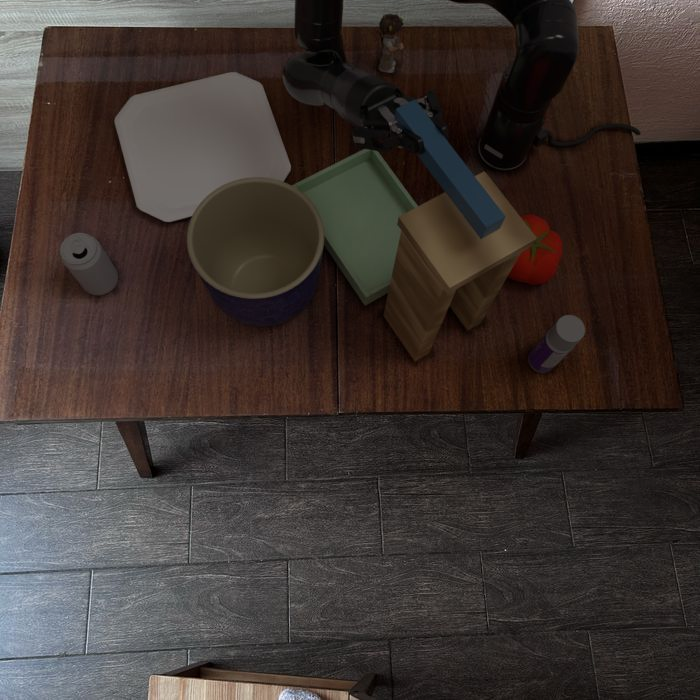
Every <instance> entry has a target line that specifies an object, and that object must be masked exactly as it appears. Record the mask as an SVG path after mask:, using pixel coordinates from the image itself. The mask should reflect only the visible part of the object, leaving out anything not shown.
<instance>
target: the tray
mask: <svg viewBox="0 0 700 700" xmlns="http://www.w3.org/2000/svg"><path fill="white" fill-rule="evenodd" d="M292 186H294V187H295V188H297V189H298V190H300V191H301V192H302V193H304V194H305V195H306V196H307V197H308V198H309V199H310V200H311V202H312V203H313V204H314V206H315V207H316V209H317V210H318V212H319V214H320V217H321V220H322V223H323V227H324V247H325V249H326V250H327V252H328V253H329V255H330V256H331V258H332V259H333V261H334V262H335V264H336V265H337V267H338V268H339V270H340V271H341V272H342V274H343V275H344V277H345V279H346V280H347V282H348V283H349V284H350V286H351V287H352V289H353V291H354V292H355V293H356V295H357V297H358V298H359V300H360V301H361V303H362V304H363V305H364V306H367V305H369V304H371V303H372V302H374V301H376V300H378V299H380V298H381V297H383V296H385V295H386V294H387V295H388V291H389V286H390V282H391V277H392V272H393V267H394V262H395V258H396V253H397V248H398V243H399V238H400V234H401V229H400V228H399V226H398V225H397V223H398V217H399V216H401V215H403V214H405V213H407V212H409V211H411V210H412V209H414V208H416V207H418V206H419V205H418V204H417V203H416V201H415V200H414V199H413V197H412V196H411V194H410V193H409V192H408V190H407V189H406V188H405V186H404V185H403V184H402V182H401V181H400V179H399V178H398V176H397V175H396V174H395V172H394V171H393V170H392V168H391V167H390V166H389V164H388V163H387V162H386V160H385V159H384V158H383V156H382V155H381V153H380V151H374V150H368V149H361V150H359V151H357V152H356V153H353V154H351V155H350V156H347V157H345V158H344V159H341V160H339V161H338V162H336V163H333V164H332V165H330V166H328V167H326V168H324V169H321V170H320V171H318V172H315V173H313V174H312V175H309V176H308V177H305V178H303V179H302V180H300V181H298V182H295V183H293V184H292Z"/></svg>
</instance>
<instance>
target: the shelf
mask: <svg viewBox="0 0 700 700" xmlns="http://www.w3.org/2000/svg"><path fill="white" fill-rule="evenodd" d="M474 176H475V177H476V179H477V180H478V181H479V183H480V184H481V185H482V186H483V188H484V189H485V190H486V192H487V193H488V194H489V195H490V197H491V198H492V199H493V201H494V202H495V203H496V205H497V206H498V207H499V208H500V210H501V211H502V212H503V214H504V215H505V216H506V217H505V219H504V221H503V223H502V225H501V227H500V229H498V230H497V231H495V232H493V233H491V234H489V235H488V236H486V237H484V238H482V239H480V237H479V236H478V235H477V234H476V232H475V231H474V230H473V228H472V227H471V226H470V224H469V223H468V222H467V220H466V219H465V218H464V216H463V215H462V214H461V212H460V211H459V210H458V208H457V207H456V206H455V204H454V203H453V202H452V200H451V199H450V198H449V196H448V195H447V194H446V192H445V191H443V193H441V194H439V195H437V196H435V197H433V198H431V199H429V200H427V201H426V202H423V203H422V204H420V205H417V206H418V207H416V208H414V209H412V210H411V211H409V212H407V213H405V214H403V215H401V216H399V217H398V223H397V225H398V226H399V228H400V229H401V234H400V238H399V243H398V248H397V253H396V258H395V262H394V267H393V272H392V277H391V282H390V286H389V291H388V293H387V296H386V301H385V306H384V310H383V317H384V319H385V321H387V323H388V325H389V326H390V328H391V330H393V332H394V334H395V335H396V337H397V338H398V339H399V341H400V342H401V344H402V345H403V347H404V348H405V350H406V351H407V352H408V353H407V354H409V356H410V357H411V359H412V360H413V362H417V361H419V360H420V359H422V358H424V357H425V356H427V355H429V354H430V352H431V350H432V347H433V345H434V342H435V340H436V338H437V335H438V333H439V331H440V329H441V326H442V325H443V322H444V319H445V317H446V314H447V312H448V310H449V308H450V309H451V310H452V312H453V313H454V314H455V316H456V317H457V319H458V321H459V322H460V323H461V324H462V326H463V327H464V329H465V330H466V331H467V332H468V331H470V330H472V329H473V328H475V327H477V326H478V325H480V324H481V323H483V320H484V319H485V317H486V315H487V313H488V312H489V310H490V308H491V306H492V305H493V303H494V301H495V299H496V298H497V296H498V294H499V292H500V291H501V289H502V287H503V286H504V283H505V282H506V280H507V279H508V277H507V276H508V275H509V273H510V271H511V269H512V268H513V266H514V264H515V262H516V261H517V259H518V257H519V255H520V254H521V252H522V251H524V250H526V249H528V248H529V247H531V246H533V244H534V243H535V241H536V239H537V238H536V236H535V235H534V234H533V233H532V231H531V230H530V229H529V227H528V226H527V225H526V224H525V222H524V221H523V220H522V218H521V217H520V216H521V215H519V213H518V212H517V210H516V209H515V208H514V207H513V206H512V205H511V202H509V200H508V199H507V198H506V197H505V195H504V194H503V193H502V192H501V190H500V189H499V187H498V186H497V185H496V183H495V182H494V181H493V180H492V178H491V177H490V176H489V175H488V174H487V173H486V171H485V170H484V171H482V172H480V173H478V174H477V175H474Z"/></svg>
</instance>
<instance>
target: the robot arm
mask: <svg viewBox="0 0 700 700" xmlns="http://www.w3.org/2000/svg"><path fill="white" fill-rule="evenodd" d="M344 1H345V0H294V36H295V40H296V42H297V44H298V45H299V46H300V47H301V48H302V49H303V50H305V51H303V52H300V53H297V54H294V55H292V56H290V57H289V58H287V60H286V61H285V63H284V65H283V69H282V81H283V84H284V85H283V86H285V89H286V90H287V92H288V93H289V95H290V96H291V97H292V98H293V99H295V101H297V102H299V103H300V104H303V105H307V106H312V107H318V108H325V109H330V110H331V111H333V112H334V113H336V114H337V115H339V116H340V117H341V119H343V120H344V121H345V122H347V123H348V124H350V125H351V126H353V127H352V128H351V130H350V131H351V134H352V138H353V142H354V146H355V148H358V149H361V150H363V149H368V150H374V151H378V152H379V153H380V152H381V153H390V152H392V151H393V150H394V148H396V147H397V148H398V149H404V150H406V151H407V152H409V153H411V154H416V153H417V154H419V155H421V154H423V153H424V152H425V149H424V142H423V139H422V138H421V137H420V136H418V135H417V134H415V133H413V132H411V131H409V130H408V129H406V130H404V128H403V127H402V126H401V125H400V124H398V123H397V121H396V119H395V111H396V108H398V107H401V106H403V105H405V104H407V103H409V102H411V101H413V100H416V101H417V103H418V104H419V105H420V106H421V108H422V109H423V110H424V112H425V113H426V114H427V115H428V117H429V118H430V119H431V121H432V122H433V123H434V125H435V126H436V127H437V128H438V130H439V131H440V132H441V134H442V135H443V136H444V137H445V139H446V140H447V141H448V142H449V136H450V132H449V126H448V123H446V122H445V121H444V118H443V109H442V105H441V103H440V100H439V98H438V96H437V93H436V91H435V90H434V89H429V90H427V91H426V92H425V95H424V96H423V97H421V98H416V97H414V96H411V95H410V96H408V95H405V94H404V92H402V90H401V89H400V88H399V87H398V86H397V85H395V84H393V83H391V82H390V81H387V80H385V79H384V78H382V77H380V76H377V75H376V74H374V73H372V72H369V71H366V70H363V69H360V68H358V67H356V66H354V65H352V64H350V63H349V61H348V57H347V54H346V49H345V45H344V40H343V33H342V28H343V14H344ZM449 1H450V2H452V3H455V4H462V5H463V4H465V5H475V4H477V5H479V4H482V5H487V6H488V7H490V8H492V9H494V10H495V11H497V12H498V13H499V14H500V15H501V16H503V17H504V18H505V20H507V21H508V22H509V23H510V24H511V25H512V27H513V29H514V31H515V57H514V61H512V62H511V63H510V64H508V65H507V66H506V68H505V69H504V71H503V73H502V74H501V75H502V76H501V79H500V82H499V83H498V87H497V90H496V93H495V97H494V99H493V102H492V106H491V108H490V110H489V114H488V118H487V120H486V123H485V125H484V129H483V131H482V134H481V137H480V139H479V140H478V141H479V142H478V145H477V153H478V157H479V159H480V160H481V162H482V163H483V164H484V165H485V166H486V167H488V168H489V169H492V170H493V171H497V172H502V173H507V172H513V171H515V170H517V169H519V168H521V166H523V164H524V163H525V162H526V159H527V157H528V155H529V154H531V152H532V150H533V147H534V148H538V147H540V146H542V145H544V144H545V142H546V139H547V138H548V139H547V141H548V143H549V144H550V145H551V146H553V147H557V148H567V147H572V146H573V147H574V146H578V145H580V144H583V143H585V142H587V141H588V140H589V139H590V138H591V137H592V136H594V134H596V133H597V132H599V131H603V130H609V129H621V130H626V131H630V132H632V133H633V134H635V135H636V136H641V131H640V130H639V129H638V128H637V127H635V126H632V125H629V124H626V123H625V124H624V123H606V124H601V125H598V126H595V127H593V128H592V129H590V131H589V132H588V133H587V134H585V135H584V136H583V137H581V138H578V139H575V140H570V141H563V142H562V141H556V140H554V135H553V133H552V131H550V130H549V129H544V128H543V126H544V124H545V119H544V118H545V116H546V114H547V111H548V109H549V107H550V105H551V103H552V101H553V99H554V98H555V97H557V96H558V95H559V93H560V92H561V91H562V89H563V88H564V86H565V84H566V82H567V80H568V79H569V76H570V74H571V73H572V70H573V69H574V67H575V64H576V62H577V59H578V57H579V52H580V36H579V25H578V15H577V10H576V7H575V6H574V4H573V2H572V1H571V0H448V2H449ZM379 139H380V140H381V142H379ZM417 154H416V155H417Z"/></svg>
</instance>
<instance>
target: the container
mask: <svg viewBox="0 0 700 700" xmlns="http://www.w3.org/2000/svg"><path fill="white" fill-rule="evenodd" d="M585 334H586V327H585V324H584V322H583V321H582V319H581V318H579V317H578V316H575V315H574V314H564V315H563V316H561V317H560V318H558V319H557V320H556V322H554V323H553V325H552V326H551V327H550V328H549V329H548V330H547V331H546V333H545V334H544V335H543V336H542V337H541V339H540V340H539V341H538V342H537V343H536V344H535V346H534V347H533V348H532V349H531V350H530V352H529V354H528V357H527V360H528V361H527V362H528V364H529V366H530V367H531V368H532V370H534V371H535V372H537V373H541V374H545V373H549V372H551V371H552V370H553V369H554V368H555V367H556V366H557V365H558V364H559V363H560V362H561V361H562V360H563V359H564V358H565V357H566V356H567V355H568V354H569V353H570V352H571V351H572V350H573V349H574V348H575V346H577V345H578V343H580V341H581V340H582V339H583V338H584V336H585Z"/></svg>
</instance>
